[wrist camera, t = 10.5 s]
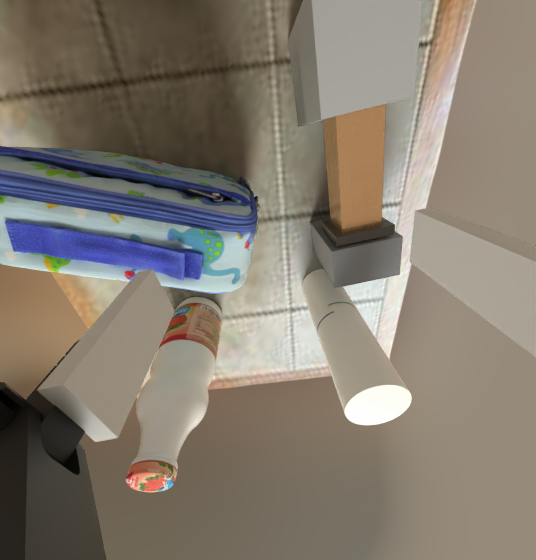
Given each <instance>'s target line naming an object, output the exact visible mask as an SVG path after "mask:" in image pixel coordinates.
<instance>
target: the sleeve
mask: <svg viewBox="0 0 536 560" xmlns="http://www.w3.org/2000/svg"><path fill="white" fill-rule="evenodd" d="M422 1H423V0H303V1H302V4H301V7H300V10H299V12H298V15H297V18H296V20H295V23H294V26H293V28H292V31H291V34H290V37H289V39H288V45H289V53H290V61H291V69H292V78H293V86H294V94H295V102H296V110H297V119H298V127H299V126H303V125H307V124H311V123H315V122H319V121H323V120H324V119H327V118H331V117H334V116H339V115H343V114H347V113H351V112H355V111H359V110H363V109H367V108H371V107H375V106H379V105H383V104H389V103H393V102H397V101H400V100H404V99H408V98H411V97H414V96H415V84H416V72H417V60H418V49H419V37H420V25H421V13H422Z"/></svg>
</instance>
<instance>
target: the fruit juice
mask: <svg viewBox="0 0 536 560" xmlns="http://www.w3.org/2000/svg"><path fill="white" fill-rule="evenodd" d="M221 325H222V313H221V310H220V308H219V307H218V306H217V305H216V304H215V303H214V302H213V301H211V300H209V299H207V298H203V297H192V298H188V299H186V300H184V301H183V302H181V303H180V304H179V305H178V307H177V308H176V310H175V312H174V314H173V317H172V319H171V321H170V323H169V326H168V328H167V330H166V332H165V335H164V337H163V339H162V341H161V344H160V346H159V348H158V350H157V352H156V354H155V357H154V360H153V362H152V366H151V370H150V379H149V380H148V381H147V382H146V383H145V385H144V386H143V388H142V389H141V391H140V394H139V396H138V400H137V404H136V412H137V417H138V420H139V422H140V424H141V442H140V448H139V452H138V455H137V458H136V459H135V460H134V461H133V462H132V464H131V466H130V468H129V470H128V474H127V477H126V483H127V485H128V486H129V487H131V488H133V489H135V490H138V491H143V492H159V491H164V490H167V489H169V488H170V487H171V486H172V485H173V484H174V482H175V479H176V475H177V469H178V464H177V462H176V461H177V457H178V454H179V451H180V449H181V446H182V444H183V443H184V441H185V439H186V437H187V435H188V434H189V432H190V431H191V430H193V428H195V427H196V426H197V425H198V424H199V422H200V421H201V420H202V418H203V417H204V415H205V413H206V410H207V405H208V389H207V387H208V386H209V384H210V382H211V380H212V377H213V373H214V369H215V363H216V356H217V350H218V344H219V337H220V331H221Z"/></svg>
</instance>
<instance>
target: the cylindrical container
mask: <svg viewBox="0 0 536 560" xmlns="http://www.w3.org/2000/svg"><path fill="white" fill-rule="evenodd" d="M302 291H303V294H304V297H305V300H306V302H307V305H308V308H309V311H310V314H311V317H312V320H313V323H314V326H315V329H316V331H317V334H318V337H319V340H320V343H321V346H322V349H323V352H324V355H325V357H326V360H327V363H328V366H329V369H330V372H331V375H332V378H333V381H334V384H335V386H336V389H337V392H338V395H339V398H340V401H341V404H342V407H343V410H344V412H345V415H346V417H347V418H348V419H349V420H350V421H351V422H354V423H356V424H360V425H375V424H381V423H384V422H387V421H390V420H392V419H394V418H396V417H398V416H399V415H401V414H402V413H403V412H404V411H405V410H406V409H407V408H408V407H409V405H410V403H411V394H410V392H409V391H408V389H407V388H406V386H405V384H404V383H403V381H402V380H401V378H400V376H399V375H398V373H397V372H396V370H395V369H394V367H393V365H392V364H391V362H390V361H389V359H388V357H387V356H386V354H385V353H384V351H383V350H382V348H381V346H380V345H379V343H378V342H377V340H376V338H375V337H374V335H373V334H372V332H371V331H370V329H369V327H368V326H367V324H366V323H365V321H364V319H363V318H362V316H361V315H360V313H359V312H358V310H357V308H356V307H355V305H354V304H353V302H352V301H351V299H350V297H349V296H348V294H347V293H346V291H345V289H344V288H343V286H342V287H338V288H334V286H333V284H332V283H331V281H330V279H329V277H328V276H327V274H326V272H325V270H324V269H318V270H315V271H312V272H311V273H309V274H308V275H307V276H306V277H305V278H304V280H303V283H302Z"/></svg>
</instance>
